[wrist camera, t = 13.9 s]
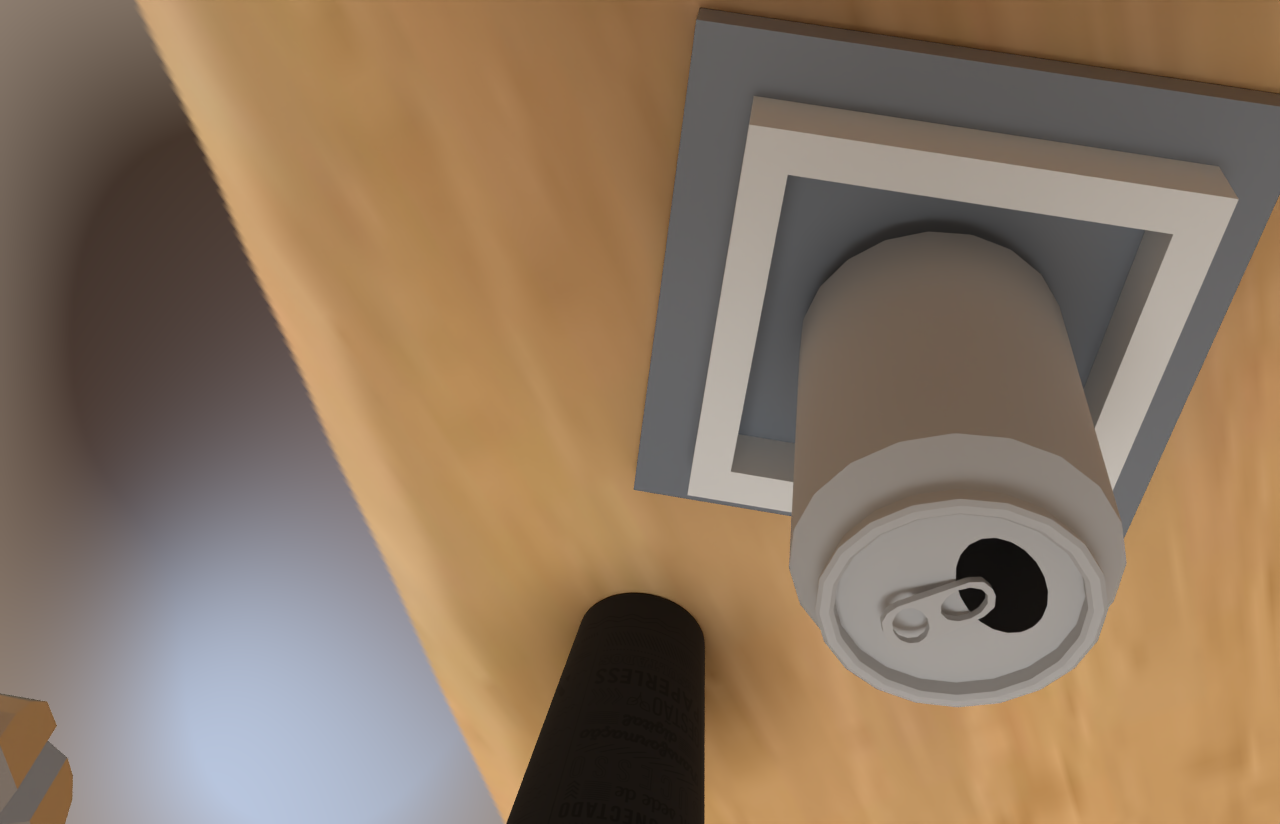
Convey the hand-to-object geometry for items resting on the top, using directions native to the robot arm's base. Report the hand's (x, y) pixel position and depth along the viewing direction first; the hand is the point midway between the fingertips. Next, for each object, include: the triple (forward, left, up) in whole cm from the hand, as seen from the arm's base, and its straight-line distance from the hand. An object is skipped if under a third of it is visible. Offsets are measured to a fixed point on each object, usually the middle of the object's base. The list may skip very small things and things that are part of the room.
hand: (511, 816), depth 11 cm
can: (+9, +7, -26) cm, 28 cm away
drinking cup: (+25, 0, -27) cm, 37 cm away
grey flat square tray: (+9, +7, -27) cm, 29 cm away
